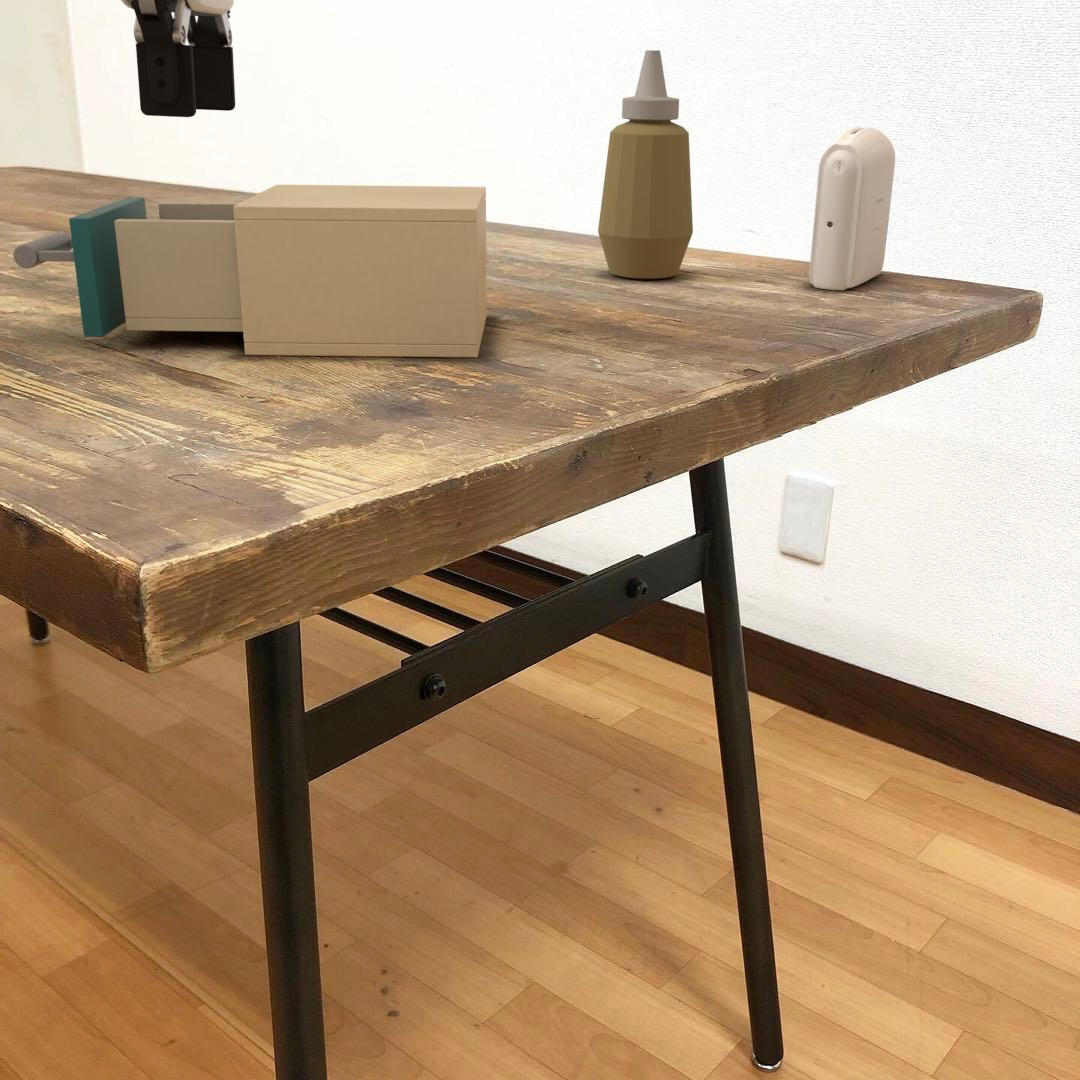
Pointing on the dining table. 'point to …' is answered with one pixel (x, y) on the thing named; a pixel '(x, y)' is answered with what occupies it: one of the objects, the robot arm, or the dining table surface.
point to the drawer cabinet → (363, 270)
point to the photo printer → (852, 209)
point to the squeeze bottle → (647, 183)
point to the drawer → (149, 266)
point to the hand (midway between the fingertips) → (191, 112)
